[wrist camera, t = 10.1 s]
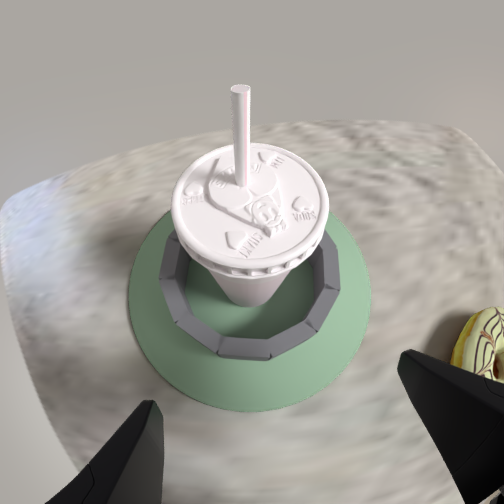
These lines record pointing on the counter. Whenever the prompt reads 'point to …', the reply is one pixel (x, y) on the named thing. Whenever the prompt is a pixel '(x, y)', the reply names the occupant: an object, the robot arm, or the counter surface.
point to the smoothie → (249, 211)
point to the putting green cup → (249, 323)
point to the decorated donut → (482, 345)
